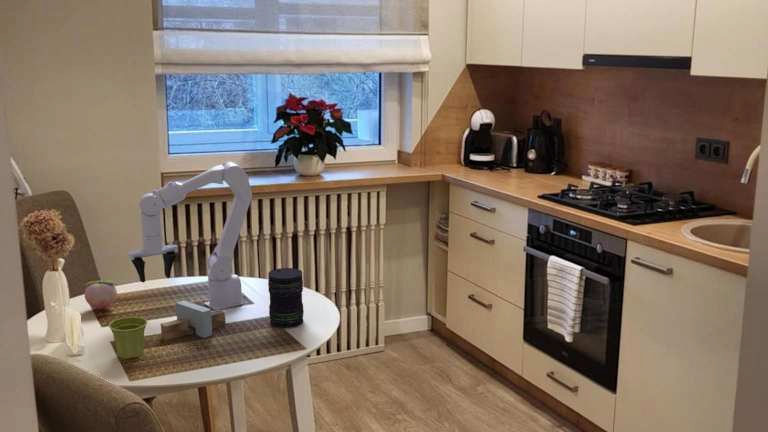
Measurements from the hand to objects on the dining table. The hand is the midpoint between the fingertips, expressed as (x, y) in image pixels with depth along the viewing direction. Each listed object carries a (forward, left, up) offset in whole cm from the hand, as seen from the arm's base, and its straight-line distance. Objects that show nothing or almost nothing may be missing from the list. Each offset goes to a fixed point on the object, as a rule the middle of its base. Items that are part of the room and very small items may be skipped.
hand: (155, 279), depth 228 cm
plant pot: (+18, +26, -11) cm, 33 cm away
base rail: (-2, +21, -10) cm, 24 cm away
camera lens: (-26, +31, -11) cm, 42 cm away
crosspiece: (-2, +21, -10) cm, 24 cm away
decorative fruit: (+12, -13, -11) cm, 21 cm away
